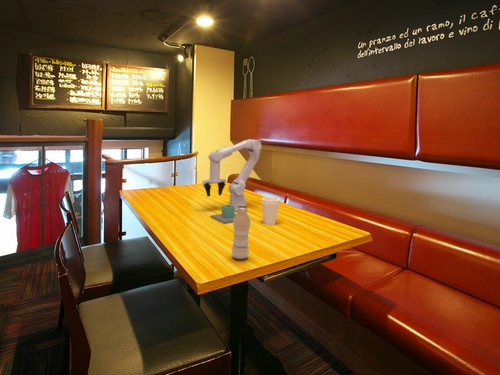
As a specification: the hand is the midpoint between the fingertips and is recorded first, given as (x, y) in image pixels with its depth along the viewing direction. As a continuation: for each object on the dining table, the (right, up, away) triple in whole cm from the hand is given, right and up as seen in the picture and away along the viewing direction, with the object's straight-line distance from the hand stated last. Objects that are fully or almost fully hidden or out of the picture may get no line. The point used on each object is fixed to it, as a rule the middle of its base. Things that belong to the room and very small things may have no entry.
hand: (214, 195), depth 185 cm
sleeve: (+9, -11, -12) cm, 19 cm away
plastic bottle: (+17, -22, -64) cm, 70 cm away
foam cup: (+31, -14, -17) cm, 38 cm away
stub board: (+9, -12, -12) cm, 19 cm away
